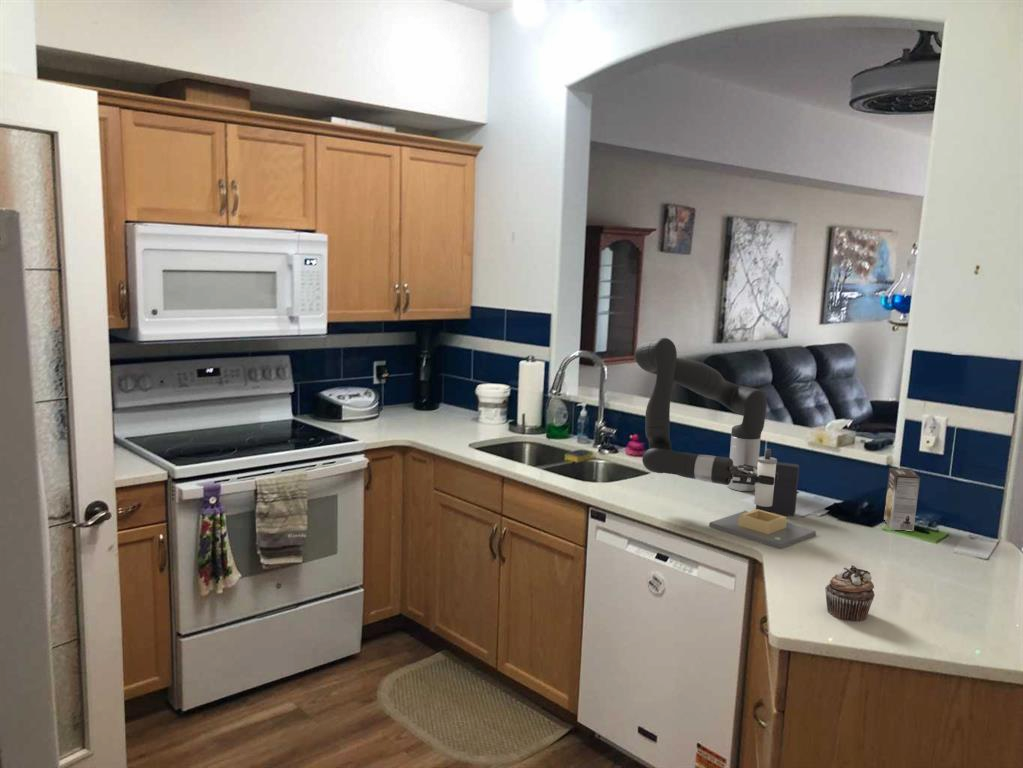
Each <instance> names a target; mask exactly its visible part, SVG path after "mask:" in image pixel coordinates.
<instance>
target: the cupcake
mask: <svg viewBox="0 0 1023 768" xmlns="http://www.w3.org/2000/svg"><path fill="white" fill-rule="evenodd" d="M872 578H873V577H872V576H871V573H870V571H868V570H865V569H863V568H862V569H861V568H858V567H856V566H855V565H849V566H847V567H843V570H841V571H839V572H838V573H836V574H834V576H832V577H831V579H830V581H829V582H828V585H826V586H825V588H824V589H825V599H826V609H827V613H828V614H829V615H831V616H832V617H833V618H836V619H838V620H842V621H846V622H862V621H865V620H866V619H867V617H868V615H869V612H870V609H871V606H872V603H873V601H874V598H875V591H874V589H875V586H874V585H875V584H874V582H872Z"/></svg>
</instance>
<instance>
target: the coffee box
mask: <svg viewBox="0 0 1023 768" xmlns="http://www.w3.org/2000/svg"><path fill="white" fill-rule="evenodd" d="M888 469H889V470H888V478H887V486H886V497H885V505H884V506H885V508H884V515H883V521H884V520H885V521H884V522H886V523H887V524H886V523H885V524H886V525H887V526H889V527H888V528H889V530H890V531H895V530H912V531H915V521H916V513H917V508H918V507H917V505H918V498H919V489H920V480H921V477H920V476H919V475H918V474H917V473H916V472H915V470H914V469H911V468H900V467H898V468H895V467H889V468H888Z"/></svg>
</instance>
